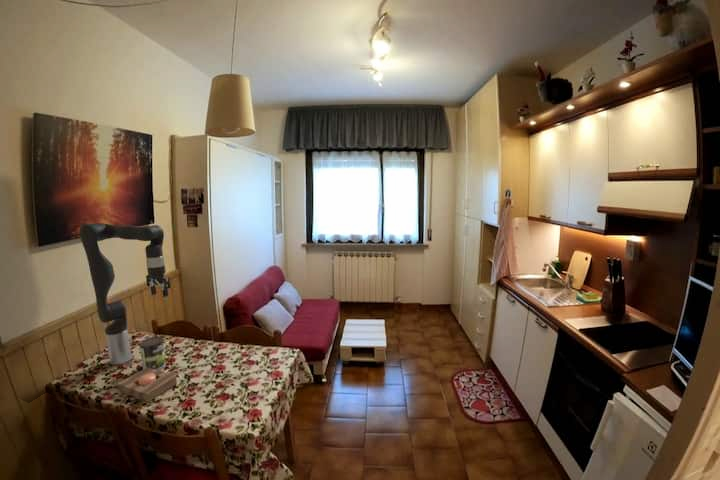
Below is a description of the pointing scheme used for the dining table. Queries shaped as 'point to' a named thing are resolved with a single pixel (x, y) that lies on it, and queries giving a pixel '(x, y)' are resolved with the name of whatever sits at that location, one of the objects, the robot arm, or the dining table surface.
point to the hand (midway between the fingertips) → (159, 295)
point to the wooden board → (149, 391)
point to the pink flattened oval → (146, 379)
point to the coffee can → (152, 353)
